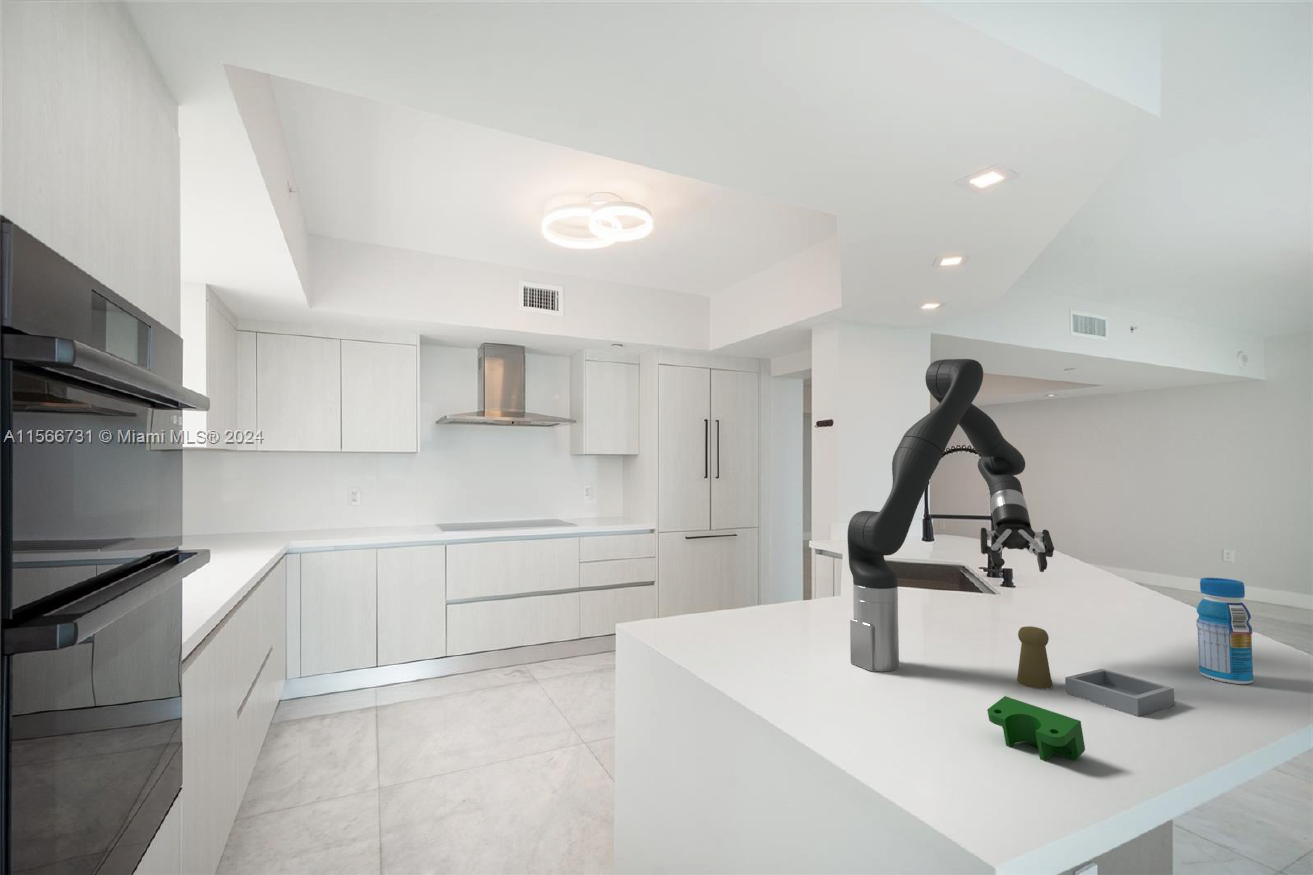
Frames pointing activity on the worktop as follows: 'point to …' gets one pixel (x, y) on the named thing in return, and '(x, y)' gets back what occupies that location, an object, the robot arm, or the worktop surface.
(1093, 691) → the tray
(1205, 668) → the beverage bottle
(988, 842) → the worktop surface
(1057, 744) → the clamp
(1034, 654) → the cork
